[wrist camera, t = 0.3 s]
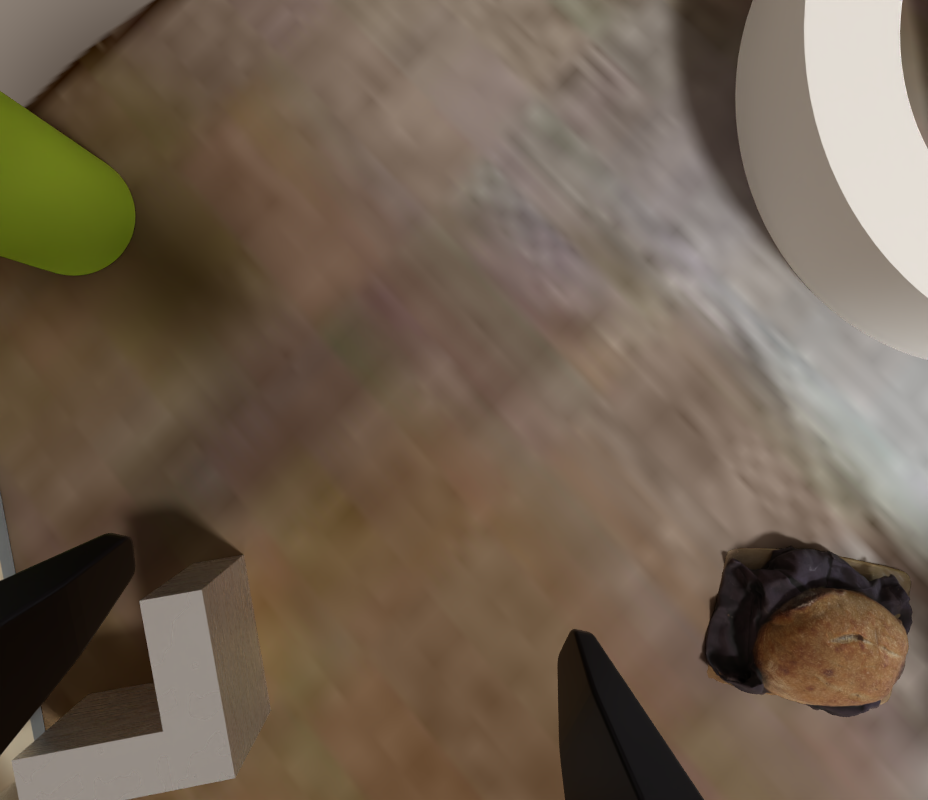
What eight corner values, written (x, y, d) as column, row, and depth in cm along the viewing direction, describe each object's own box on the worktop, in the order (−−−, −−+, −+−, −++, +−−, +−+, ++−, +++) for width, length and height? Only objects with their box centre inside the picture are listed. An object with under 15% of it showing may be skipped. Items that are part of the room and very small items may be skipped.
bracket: (271, 709, 23) (235, 777, 19) (97, 743, 22) (22, 820, 18) (243, 554, 22) (201, 589, 18) (67, 585, 22) (-15, 627, 18)
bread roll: (903, 561, 25) (982, 590, 21) (873, 709, 25) (946, 763, 21) (720, 528, 24) (769, 552, 21) (690, 680, 24) (734, 730, 21)
